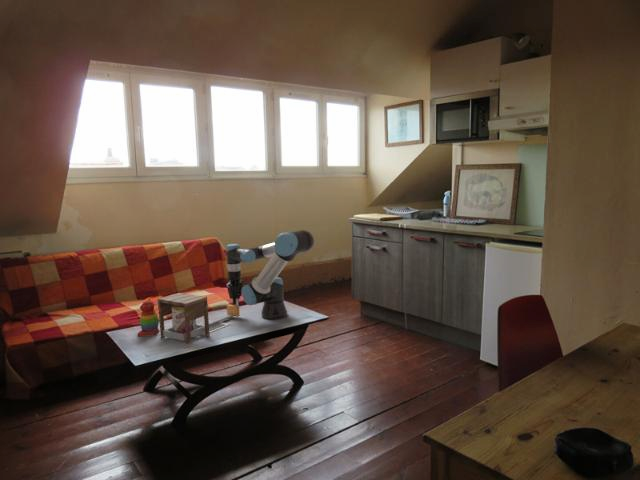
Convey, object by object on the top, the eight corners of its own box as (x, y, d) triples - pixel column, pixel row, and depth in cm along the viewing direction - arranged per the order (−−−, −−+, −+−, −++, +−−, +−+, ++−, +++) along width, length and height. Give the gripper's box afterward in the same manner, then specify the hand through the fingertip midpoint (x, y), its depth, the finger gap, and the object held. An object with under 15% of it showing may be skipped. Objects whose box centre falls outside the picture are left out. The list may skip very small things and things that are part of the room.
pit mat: (229, 324, 252) (229, 323, 252) (207, 333, 238) (207, 333, 238) (209, 320, 261) (209, 320, 260) (186, 329, 246) (186, 328, 246)
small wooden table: (209, 335, 236) (207, 297, 233) (188, 343, 224) (185, 303, 221) (181, 329, 247) (179, 292, 244) (160, 337, 235) (157, 298, 232)
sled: (244, 316, 263) (243, 306, 262) (183, 340, 225) (182, 329, 224) (225, 313, 271) (224, 303, 270) (163, 336, 233) (162, 325, 232)
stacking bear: (144, 329, 248) (141, 298, 246) (162, 329, 248) (160, 297, 246) (136, 336, 238) (133, 303, 235) (155, 336, 237) (152, 303, 235)
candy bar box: (172, 338, 233) (170, 307, 231) (176, 334, 238) (174, 304, 236) (193, 338, 232) (191, 307, 230) (197, 334, 237) (195, 304, 235)
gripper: (237, 268, 272) (239, 306, 276) (221, 271, 262) (223, 311, 265) (246, 269, 268) (248, 307, 272) (231, 273, 258) (233, 313, 261)
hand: (236, 309), depth 268 cm, fingers closed
